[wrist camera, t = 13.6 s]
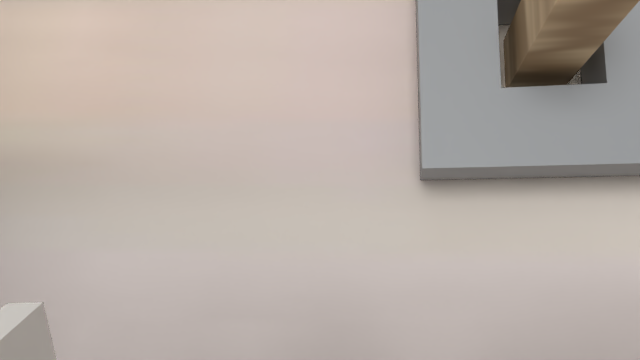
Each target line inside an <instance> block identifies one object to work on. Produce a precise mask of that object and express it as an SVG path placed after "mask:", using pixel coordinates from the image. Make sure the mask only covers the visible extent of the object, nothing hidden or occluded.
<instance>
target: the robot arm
mask: <svg viewBox="0 0 640 360" xmlns="http://www.w3.org/2000/svg"><path fill="white" fill-rule="evenodd" d="M0 360H56V356H55V351H54V347H53V343H52V338H51V334H50V330H49V325H48V321H47V317H46V312H45V308H44V303H43V302H33V303H7V304H6V305H4V306H3V307H2V308H1V309H0Z"/></svg>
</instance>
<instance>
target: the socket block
mask: <svg viewBox="0 0 640 360" xmlns="http://www.w3.org/2000/svg"><path fill="white" fill-rule="evenodd" d="M520 1H521V0H416V28H417V67H418V106H419V145H420V180H444V179H492V178H540V177H588V176H637V175H640V1H639V2H638V3H637V4H636V5H635V6H634V8H633V9H632V10H631V11H630V12H629V13H628V15H627V16H626V17H625V18H624V19H623V20H622V21H621V23H620V24H619V25H618V26H617V27H616V28H615V29H614V31H613V32H612V33H611V34H610V35H609V36H608V37H607V39H606V40H605V41H604V42H603V43H602V44H601V45H600V47H599V48H598V49H597V50H596V51H595V52H594V54H593V55H592V56H591V57H590V58H589V59H588V60H587V62H586V63H585V64H584V65H583V66H582V67H581V80H582V84H577V85H554V86H531V87H508V88H501V72H500V51H499V31H498V25H505V24H511V22H512V20H513V18H514V15H515V13H516V11H517V8H518V6H519V3H520Z"/></svg>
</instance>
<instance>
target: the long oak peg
mask: <svg viewBox="0 0 640 360" xmlns="http://www.w3.org/2000/svg"><path fill="white" fill-rule="evenodd" d="M639 1H640V0H521V1H520V3H519V6H518V8H517V11H516V13H515V15H514V18H513V20H512V22H511V25H510V27H509V29H508V32H507V34H506V36H505V39H504V61H505V83H506V88H508V87H531V86H554V85H566V84H567V83H568V82H569V81H570V80H571V79H572V78H573V76H574V75H575V74H576V73H577V72H578V71H579V70H580V68H581V67H582V66H583V65H584V64H585V63H586V62H587V60H588V59H589V58H590V57H591V56H592V55H593V54H594V52H595V51H596V50H597V49H598V48H599V47H600V45H601V44H602V43H603V42H604V41H605V40H606V39H607V37H608V36H609V35H610V34H611V33H612V32H613V31H614V29H615V28H616V27H617V26H618V25H619V24H620V23H621V21H622V20H623V19H624V18H625V17H626V16H627V15H628V13H629V12H630V11H631V10H632V9H633V8H634V6H635V5H636V4H637V3H638V2H639Z"/></svg>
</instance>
